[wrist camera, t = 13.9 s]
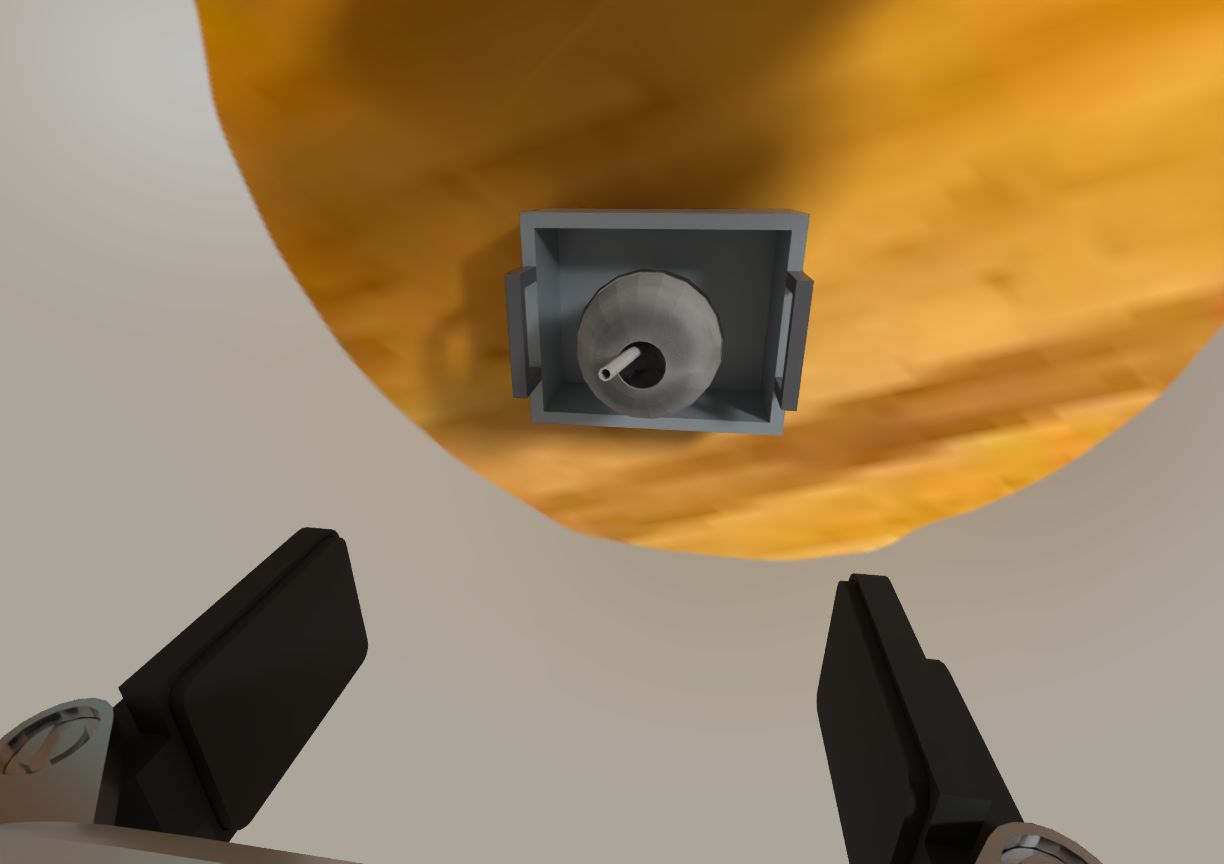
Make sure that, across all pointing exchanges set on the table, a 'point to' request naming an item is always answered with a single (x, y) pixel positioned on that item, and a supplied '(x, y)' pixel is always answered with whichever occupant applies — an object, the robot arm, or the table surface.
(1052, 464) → the table surface
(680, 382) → the beverage cup
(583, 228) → the tote
